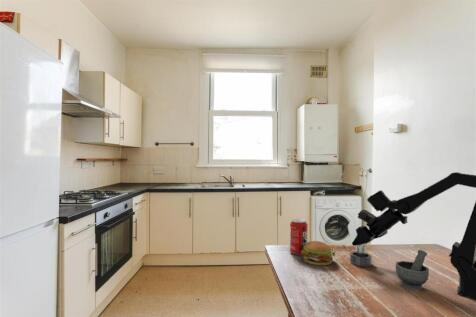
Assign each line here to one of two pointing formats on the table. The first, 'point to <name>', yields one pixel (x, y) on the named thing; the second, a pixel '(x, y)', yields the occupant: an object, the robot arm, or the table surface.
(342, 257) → the table surface
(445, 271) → the table surface
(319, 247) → the food
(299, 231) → the soda can
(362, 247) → the tube
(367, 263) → the collar ring
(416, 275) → the mortar and pestle
